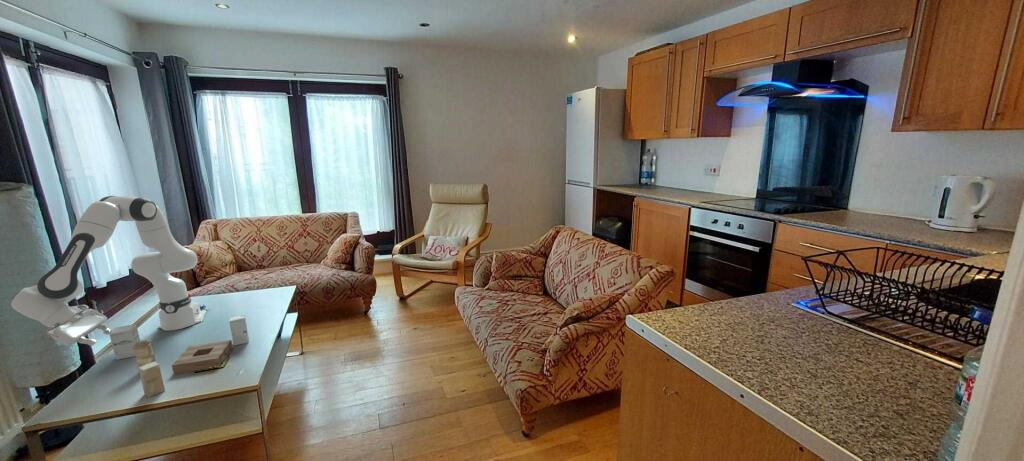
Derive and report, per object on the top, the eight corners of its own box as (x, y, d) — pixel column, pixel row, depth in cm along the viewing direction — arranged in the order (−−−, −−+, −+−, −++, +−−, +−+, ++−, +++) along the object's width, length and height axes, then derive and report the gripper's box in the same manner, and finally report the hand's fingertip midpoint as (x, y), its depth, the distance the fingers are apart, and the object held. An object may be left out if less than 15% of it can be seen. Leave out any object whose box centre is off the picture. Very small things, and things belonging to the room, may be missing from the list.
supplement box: (115, 360, 176) (108, 334, 173) (121, 353, 183) (114, 327, 180) (137, 356, 180) (130, 329, 177) (143, 348, 186) (136, 323, 183)
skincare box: (233, 346, 185) (228, 321, 183) (234, 342, 189) (228, 317, 186) (249, 342, 188) (244, 318, 186) (249, 338, 192) (244, 314, 189)
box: (148, 397, 150) (141, 370, 147) (144, 394, 152) (136, 367, 149) (166, 390, 154) (159, 363, 151) (161, 386, 156) (154, 360, 154)
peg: (145, 367, 170) (138, 341, 167) (157, 365, 171) (151, 339, 168) (139, 373, 166) (131, 346, 163) (152, 371, 167) (145, 344, 164)
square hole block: (191, 354, 179) (189, 346, 178) (233, 348, 184) (231, 339, 183) (173, 374, 164) (171, 365, 163) (219, 366, 169) (217, 357, 168)
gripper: (49, 324, 147) (90, 344, 152) (87, 302, 166) (123, 321, 171) (37, 337, 147) (78, 357, 152) (77, 314, 166) (113, 332, 171)
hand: (102, 338), depth 161 cm, fingers open, 8 cm apart
